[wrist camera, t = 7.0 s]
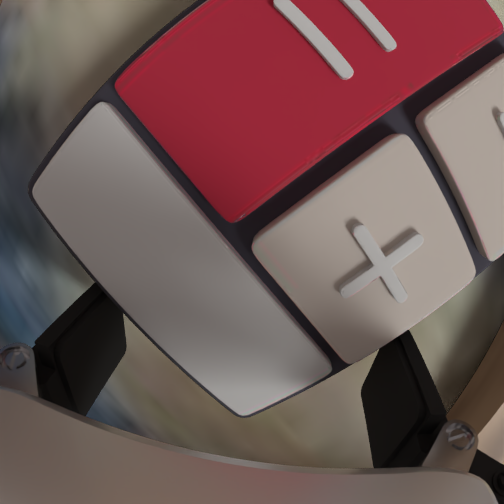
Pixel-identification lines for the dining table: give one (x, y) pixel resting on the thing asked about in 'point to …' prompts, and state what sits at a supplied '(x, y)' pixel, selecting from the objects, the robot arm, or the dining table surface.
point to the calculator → (287, 183)
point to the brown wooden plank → (485, 401)
